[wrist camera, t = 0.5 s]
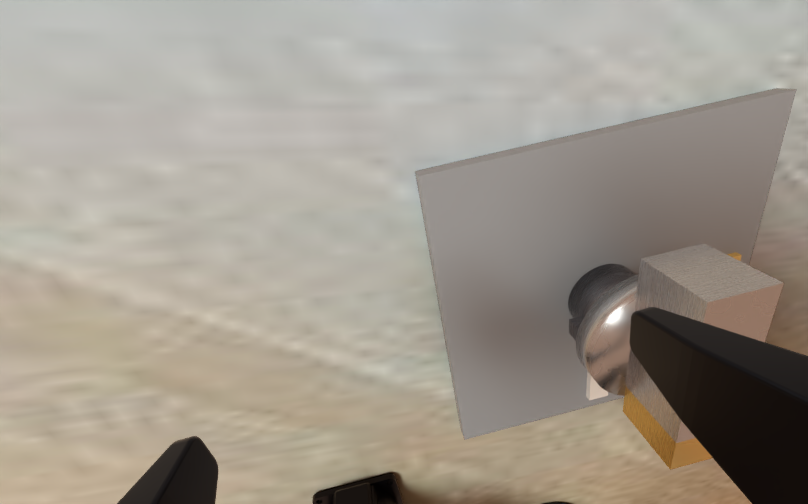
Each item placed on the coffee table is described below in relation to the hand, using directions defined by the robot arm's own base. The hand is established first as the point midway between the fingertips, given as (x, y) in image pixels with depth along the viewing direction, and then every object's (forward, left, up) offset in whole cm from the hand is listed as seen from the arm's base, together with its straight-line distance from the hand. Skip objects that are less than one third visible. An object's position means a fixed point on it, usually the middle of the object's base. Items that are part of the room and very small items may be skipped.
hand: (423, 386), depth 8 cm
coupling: (-9, -12, -9) cm, 18 cm away
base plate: (-9, -12, -14) cm, 21 cm away
